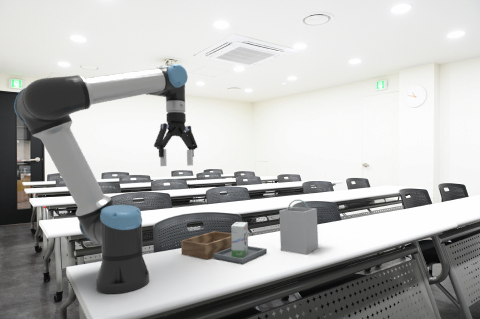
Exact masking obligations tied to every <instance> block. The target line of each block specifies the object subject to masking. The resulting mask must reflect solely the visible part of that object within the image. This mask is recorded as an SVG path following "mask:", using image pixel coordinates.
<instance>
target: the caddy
mask: <svg viewBox="0 0 480 319" xmlns="http://www.w3.org/2000/svg"><path fill="white" fill-rule="evenodd" d="M278 211H279V232H280V233H279V234H280V236H279V237H280V251H281V252H282V251H283V252H289V253H295V254H303V255H308V254H310V253H311V252H313V251H315V250H317V249H319V238H318V237H319V232H318V230H319V229H318V209H317V208H312V207H308V210H307V207H296V206H295V207H294V206H292V207H291V206H290V208H289V211H288V207H287V208H284V209H280V210H278Z"/></svg>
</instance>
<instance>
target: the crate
mask: <svg viewBox="0 0 480 319" xmlns="http://www.w3.org/2000/svg"><path fill="white" fill-rule="evenodd" d="M180 243H181V244H180V245H181V247H180V248H181V255H182V254H184V255H183V256H187V255H189V256H188V257H192V256H193V257H194V258H198V259H202V260H210V259H213V254H214V253H217V252H220V251H223V250H225V249H228V248H231V247H232V236H231V233H230V232H223V231H211V232H206V233H203V234H200V235H196V236H192V237H190V238H186V239H182V240H181V241H180ZM193 257H192V258H193Z"/></svg>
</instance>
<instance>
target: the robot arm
mask: <svg viewBox="0 0 480 319" xmlns="http://www.w3.org/2000/svg"><path fill="white" fill-rule="evenodd" d="M187 82H188V73H187V70H186V68H185V67H184V66H183V65H181V64H179V63H177V64H176V63H175V64H171V65H169V66H167V67H159V68H150V69H144V70H136V71H129V72H121V73H113V74H105V75H100V76H91V77H90V76H89V77H83V76H82V75H79V74H77V75H70V76H66V75H65V76H58V77H57V76H53V77H44V78H40V79H36V80H34V81H32V82H31V83H29V84H28V85H27V86H26V87H24V88H22V89H21V90H20V91H19V92H18V94H17V95H16V96H15V97H16V98H15V100H14V103H13V104H14V105H13V108H14V113H15V114H16V116H17V118H18V119H19V120H20V121H21V122H22V123H24V124H25V125H26V127H27V128H28V130H29V132H30V134H31V135H32V137H34V138H37V139H39V140H41V142H42V144H43V145H44V148H45V150H46V152H47V153H48V155H49V157H50V159H51V161H52V162H53V164H54V166H55V169H57V172H58V173H59V175H60V177H61V179H62V181H63V183H64V184H65V187H66V188H67V190H68V192H69V194H70V196H71V197H72V199H73V201H74V203H75V205H76V207H77V208H76V211H75V216H76V218H77V219H78V220H77V221H79V223H78V224H79V231H80V232H81V234H82V235H83V236H84V237H85V238H86V239H87V240H89V241H91V242H94V243H97V244H100V245H101V263H100V267H99V270H98V273H97V277H96V281H95V282H96V283H95V288H96V291H98V292H99V293H103V294H122V293H126V292H131V291H132V292H133V291H135V290H138V289H140V288H143V287H145V286H146V285H147V284H148V283H149V281H150V272H149V269H148V267H147V265H146V262H145V258H144V255H143V226H142V225H143V224H142V223H143V218H142V211H141V209H140V208H139V207H137V206H134V205H130V204H129V205H126V204H115V203H114V201H113V199H112V197H111V196H108V195H105V194H104V192H103V190H102V188H101V186H100V184H99V183H98V181H97V178H96V177H95V175H94V173H93V171H92V168H91V167H90V165H89V163H88V161H87V159H86V157H85V155H84V154H83V152H82V149H81V147H80V145H79V143H78V141H77V139H76V137H75V136H74V133H73V131H72V129H71V126H72V124H73V120H72V118H71V116H70V115H71V114H73V113H76V112H80V111H84V110H88V109H89V108H90V107H91V106H92V105H96V104H101V103H105V102H106V103H107V102H110V101H116V100H122V99H126V98H127V99H128V98H132V97H137V96H141V95H142V96H143V95H146V96H148V95H149V96H156V97H163V98H165V104H166V105H165V108H166V110H165V111H166V122H164V123H160V127H159V128H160V129H159V131H158V133H157V136H156V139H155V142H154V144H153V147H154V148H156V149H157V150H158V157H159V158H160V161H159V162H160V167H167V148H166V146H167V145H168V143H169V141H170V140H171V139H172V137H179V138H180V139H181V140H182V141H183V143H184V144H185V146H186V147H187V150H186V157H187V158H186V163H187V164H186V165H187V166H193V165H194V157H195V155H194V154H195V153H194V152H195V151H194V150H196V149H198V145H197V142H196V139H195V137H194V134H193V132H192V126H191V125H185V123H186V121H187V120H186V83H187Z"/></svg>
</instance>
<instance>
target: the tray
mask: <svg viewBox="0 0 480 319" xmlns="http://www.w3.org/2000/svg"><path fill="white" fill-rule="evenodd" d="M266 253H267V248H264V247H256V246H250V245H248V252H247V253H246V255H245V257H232V247H231V248H228V249H225V250H223V251H220V252H217V253H214V254H213V258H212V259H214V260H218V261H223V262H227V263H234V264H238V265H244V264H246V263H248V262H251V261H253V260H255V259H257V258H260V257H262V256H264V255H266Z"/></svg>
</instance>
